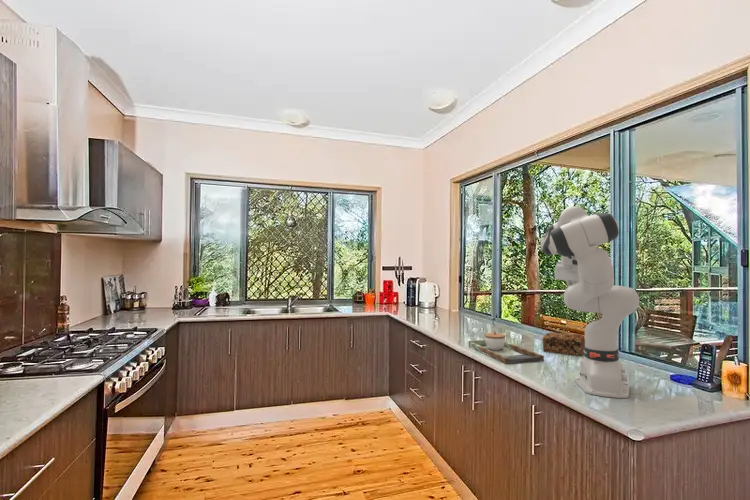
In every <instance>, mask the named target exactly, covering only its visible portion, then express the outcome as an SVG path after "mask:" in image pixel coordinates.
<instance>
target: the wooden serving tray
mask: <svg viewBox="0 0 750 500" xmlns="http://www.w3.org/2000/svg"><path fill="white" fill-rule="evenodd" d="M469 346H470V347H469ZM468 347H469V348H471V347H472V348H471V349H473V348H474V349H473V350H475V349H477V350H479V351H478V352H480V351H481V352H480V353H482V352H484V353H486V354H488V355H490V356H492V357H493V359H494V358H495V360H496V359H497V360H496V361H498V360H499V361H498V362H501V363H503V364H505V365H511V364H512V365H513V364H515V365H516V364H524V363H535V362H536V363H537V362H544V361H545V355H543V354H539V353H538V352H535V351H532V350H529V349H527V348H524V347H521V346H518V345H516V344H513V343H511V342H508V341H506V340H505V344H504V346H503V348H507V349H510V350H512V351H514V352H517V353H519V354H517V355H502V354H499V352H498V353H497V352H495V351H494V350H491V349H489V348H486V347H488V346H487V345H486V342H485V339H482V340H481V339H479V340H478V339H477V340H468ZM477 350H476V351H477ZM484 353H483V354H484ZM486 354H485V355H486ZM488 355H487V356H488ZM490 356H489V357H490ZM492 357H491V358H492Z"/></svg>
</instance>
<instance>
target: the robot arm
mask: <svg viewBox="0 0 750 500" xmlns="http://www.w3.org/2000/svg"><path fill="white" fill-rule="evenodd" d="M619 231H620V230H619V223H618V221H617V220H616V218H614V216H613V215H612V214H610V213H608V212H598V211H594V213H593V214H588V212H587V211H586V209H584V208H583V207H580V206H574V205H573V206H569V207H567V208H565V209H564V210H563V211H561V213H560V215H559V217H558V220H557V221H556V222H555V223H553V224H550V225H549V226H548V228H547V229H546V231H545V232H544V234H543V235H542V236H541V239H540V249H541V251H542V253H544V254H545V255H546V256H552V255H560V256H561V258H560V260H558V261H557V263H556V264H555V268H554V279H555V280H557V281H566V283H565V284H566V285H567V287H566V289H565V290H564V293H563V301H564V304H565V306H566V307H567V308H568V309H569V310H573V311H576V312H577V311H578V312H581V313H583V312H584V313H598V314H602V315H601V316H602V317H601V318H600V319H598V320H595V321H592V322H590V323H588V324H586V326H585V328H584V339H585V346H584V349H583V352H584V354H583V356H584V357H583V358H581V359H580V360H579V377H575V378H574V382H575V383H576V384H577V385H578V387H580V389H581V390H582V391H583V392H584V393H585V394H588V395H594V396H598V397H599V396H600V397H605V398H617V399H627V398H629V397H630V389H631V388H630V387H631V385H630V383H627V382H628V375H626V374H625V373H626V369H624V367H623V363H622V362H621V361H620V353H619V349H618V333H619V329H620V325H621V323H622V322H623V321H624V320H625V319H626V318H627V317H628V316H629V315H631V314H633V313H634V312H635V311H636V310H637V309H638V308H639V306H640V297H639V294H638V293H637V291H636V290H635V289H634V288H632V287H628V286H624V285H619V284H617V285H615V276H614V275H615V274H614V268H613V263H612V260H611V257H610V256H609V254H608V252H607V251H606V250H605V249H603V248H601V247H599V246H601V245H603V244H605V243H610V242H613V241H614V240H616V239H617V238H618V237H619V233H620V232H619Z"/></svg>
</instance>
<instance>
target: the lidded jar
mask: <svg viewBox="0 0 750 500" xmlns="http://www.w3.org/2000/svg"><path fill="white" fill-rule="evenodd" d="M484 340H485V342H486V345H487V346H486V347H488V349H489V350H491V351H502V348H504V344H505V341H506V334H504V333H500V332H496V331H493V332H487V333H484Z"/></svg>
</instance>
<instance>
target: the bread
mask: <svg viewBox="0 0 750 500" xmlns="http://www.w3.org/2000/svg"><path fill="white" fill-rule="evenodd" d="M584 346H585V335H583V334H580V333H569V332H564V333H563V332H562V333H561V332H548V333H546V334H544V336H543V337H542V349H543V352H546V353H547V352H548V353H553V354H554V353H555V354H561V355H568V356H578V357H579V356H584V352H583V349H584Z"/></svg>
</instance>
